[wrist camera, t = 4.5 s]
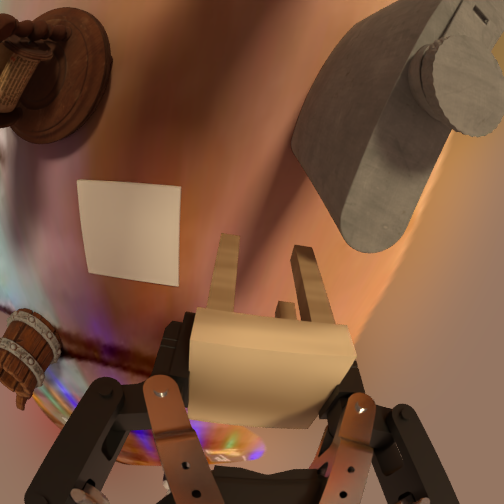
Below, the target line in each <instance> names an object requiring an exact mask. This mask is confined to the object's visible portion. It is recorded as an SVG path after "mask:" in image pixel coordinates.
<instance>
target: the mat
mask: <svg viewBox="0 0 504 504" xmlns="http://www.w3.org/2000/svg"><path fill="white" fill-rule="evenodd" d="M77 189H78V201H79V211H80V220H81V228H82V235H83V242H84V249H85V255H86V261H87V266H88V272H89V273H93V274H99V275H105V276H111V277H117V278H124V279H130V280H136V281H143V282H150V283H156V284H163V285H170V286H179V236H180V205H181V186H170V185H158V184H146V183H133V182H118V181H101V180H80V179H79V180H77Z"/></svg>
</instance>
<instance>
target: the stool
mask: <svg viewBox="0 0 504 504" xmlns="http://www.w3.org/2000/svg"><path fill="white" fill-rule="evenodd" d="M239 242H240V236H237V235H230V234H224V233H221V238H220V243H219V247H218V252H217V257H216V262H215V267H214V272H213V277H212V282H211V287H210V292H209V297H208V302H207V307H206V308H201V307H197V311H196V315H195V319H194V324H193V328H192V333H191V338H190V351H189V371H190V384H189V404H188V418H189V419H191V420H198V421H205V422H212V423H220V424H229V425H239V426H251V427H265V428H287V429H308V428H309V426H310V425H311V424H312V423H313V421H314V420H315V418H316V417H317V416H318V414H319V413H318V412H319V411H320V409H321V408H322V406H323V405H324V404H325V402H326V401H327V399H328V398H329V396H330V395H331V393H332V392H333V390H334V389H335V387H336V386H337V384H340V383H341V381H342V379H343V378H344V376H345V375H346V373H347V372H348V370H349V369H350V367H351V365H352V364H353V362H354V361H355V359H356V357H357V355H356V352H355V348H354V345H353V342H352V339H351V336H350V333H349V329H348V326H347V325H340V324H335V320H334V317H333V313H332V310H331V307H330V303H329V300H328V297H327V293H326V290H325V287H324V284H323V280H322V277H321V274H320V271H319V268H318V265H317V261H316V258H315V255H314V252H313V249H312V247H306V246H300V245H294V249H293V252H292V256H291V259H290V261H291V266H292V272H293V277H294V282H295V288H296V294H297V299H298V305H299V310H300V316H301V321H299V320H297V317H296V311H295V304H294V303H291V302H283V301H278V305H277V308H276V311H275V318H273V317H265V316H257V315H249V314H242V313H235V312H233V310H234V298H235V287H236V275H237V264H238V253H239Z"/></svg>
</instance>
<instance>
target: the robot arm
mask: <svg viewBox="0 0 504 504" xmlns="http://www.w3.org/2000/svg"><path fill="white" fill-rule="evenodd" d="M195 315H196V313H192V312H185V315H184V319H183V323H182V322H176V321H172V322H171V323H170V324H169V325H168V326H167V327H166V328H165V331H164V335H163V339H162V341H161V345H160V348H159V351H158V354H157V358H156V361H155V365H154V368H153V371H152V374H151V376H150V377H149V378H148V379H147V380H145V381H144V382H142V383H139V384H130V385H121V384H120V383H119V382H118V381H117V380H115V379H113V378H110V377H101V378H98V379H96V380H95V381H93V382H92V384H91V385H90V386H89V388H88V390H87V391H86V393H85V394H84V396H83V397H82V399H81V400H80V402H79V403H78V405H77V407H76V408H75V410H74V411H73V413H72V414H71V416H70V418H69V419H68V421H67V422H66V424H65V426H64V427H63V429H62V431H61V432H60V434H59V436H58V437H57V439H56V441H55V442H54V444H53V446H52V447H51V449H50V451H49V452H48V454H47V456H46V457H45V459H44V461H43V463H42V464H41V466H40V468H39V470H38V471H37V473H36V475H35V477H34V478H33V480H32V482H31V484H30V486H29V488H28V489H27V491H26V493H25V498H24V501H25V504H110V502H109V500H108V499H107V498H106V496H105V495H104V494H103V493H101V490H102V488H103V485H104V483H105V481H106V479H107V477H108V475H109V473H110V471H111V469H112V467H113V465H114V463H115V461H116V459H117V457H118V455H119V453H120V451H121V449H122V447H123V445H124V442H125V440H126V438H127V436H128V434H129V432H130V430H146V429H152V432H153V436H154V440H155V443H156V447H157V451H158V454H159V457H160V461H161V464H162V467H163V470H164V474H165V477H166V480H167V483H168V486H169V489H170V491H171V492H170V493H169V494H168V495H166V496H165V497H164V498H163V499H162V500H160V501H159V502H158V503H156V504H360V502H361V499H362V496H363V492H364V489H365V485H366V481H367V477H368V473H369V469H370V465H371V462H372V465H373V467H374V470H375V472H376V475H377V477H378V479H379V482H380V485H381V487H382V490H383V492H384V495H385V498H386V500H387V503H388V504H459V501H458V499H457V497H456V495H455V492H454V490H453V488H452V485H451V483H450V481H449V479H448V477H447V475H446V472H445V470H444V468H443V466H442V464H441V462H440V460H439V458H438V455H437V453H436V452H435V449H434V447H433V445H432V443H431V441H430V439H429V437H428V435H427V433H426V431H425V429H424V427H423V425H422V423H421V422H420V420H419V418H418V416H417V414H416V412H415V411H414V409H413V408H412V407H410V406H409V405H406V404H398V405H396V406H395V407H394V408H393V409H390V408H386V407H382V406H378V405H376V404H375V401H374V400H373V399H372V398H371V397H370V396H369V395H367V394H365V391H364V387H363V384H362V380H361V376H360V373H359V369H358V368H357V362H356V361H354V362H353V364H352V365H351V367H350V369H349V370H348V372H347V373H346V375H345V376H344V378H343V379H342V381H341V383H340V384H337V386H336V387H335V389H334V390H333V392H332V393H331V395H330V396H329V398H328V399H327V401H326V402H325V404H324V405H323V406H322V408H321V409H320V411H319V412H318V413H319V418H320V419H327V420H328V425H327V426H326V428H325V430H324V433H323V436H322V439H321V442H320V445H319V448H318V450H317V453H316V456H315V458H314V460H313V462H312V464H311V466H310V467H309V469H293V470H289V471H284V472H280V473H275V474H271V475H265V474H261V473H257V472H254V471H250V470H247V469H243V468H237V467H225V466H216V465H215V467H214V470H210V468H209V465H208V462H207V460H206V457H205V455H204V452H203V450H202V447H201V444H200V442H199V439H198V436H197V434H196V432H195V430H194V429H192V427H191V424H190V421H189V418H188V415H187V412H186V409H185V407H186V408H188V404H189V384H190V371H189V351H190V338H191V333H192V328H193V324H194V319H195ZM355 360H356V359H355ZM396 445H397V446H396ZM397 447H398V448H397ZM398 449H399V450H398ZM399 451H400V452H399ZM400 454H401V455H400ZM401 456H402V457H401ZM402 458H403V459H402Z"/></svg>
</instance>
